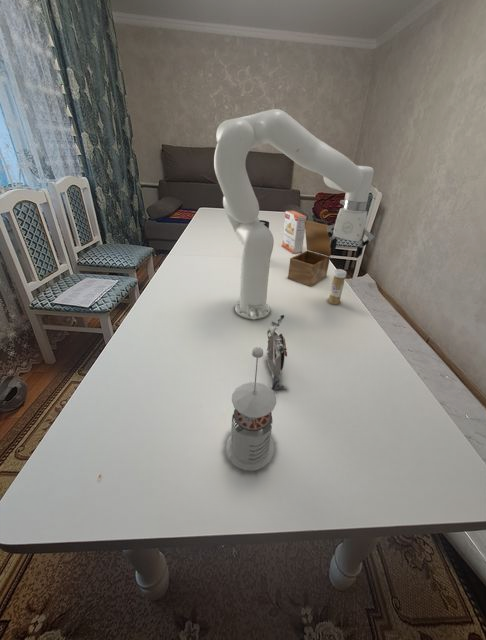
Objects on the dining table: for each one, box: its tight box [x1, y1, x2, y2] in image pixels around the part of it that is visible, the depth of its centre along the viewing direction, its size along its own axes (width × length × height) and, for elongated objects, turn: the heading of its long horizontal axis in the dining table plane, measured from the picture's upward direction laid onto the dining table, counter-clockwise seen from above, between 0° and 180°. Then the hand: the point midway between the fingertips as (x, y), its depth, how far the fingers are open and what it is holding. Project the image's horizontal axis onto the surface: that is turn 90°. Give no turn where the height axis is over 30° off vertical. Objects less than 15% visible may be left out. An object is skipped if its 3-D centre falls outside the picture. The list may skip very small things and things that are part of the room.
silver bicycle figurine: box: [266, 314, 288, 391], centre depth 77 cm, size 15×4×13 cm, turn 6°
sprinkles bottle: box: [328, 268, 348, 305], centre depth 114 cm, size 5×5×14 cm
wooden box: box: [287, 250, 331, 287], centre depth 135 cm, size 16×12×10 cm
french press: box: [225, 347, 277, 471], centre depth 54 cm, size 10×12×25 cm
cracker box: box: [281, 210, 308, 254], centre depth 167 cm, size 14×6×21 cm, turn 25°
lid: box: [304, 218, 332, 258], centre depth 133 cm, size 16×12×5 cm
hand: (344, 253), depth 108 cm, fingers open, 9 cm apart
